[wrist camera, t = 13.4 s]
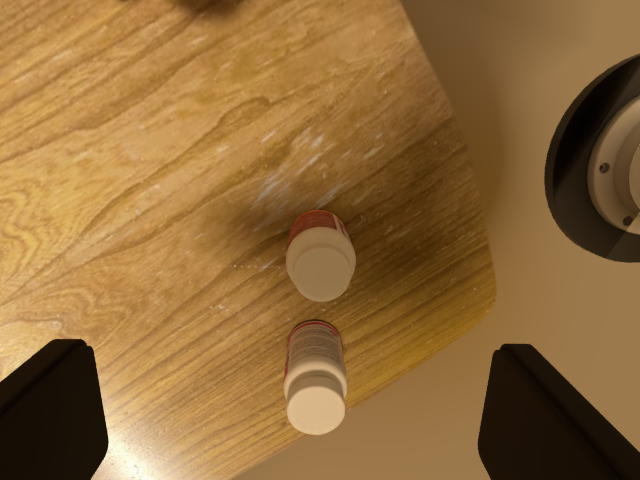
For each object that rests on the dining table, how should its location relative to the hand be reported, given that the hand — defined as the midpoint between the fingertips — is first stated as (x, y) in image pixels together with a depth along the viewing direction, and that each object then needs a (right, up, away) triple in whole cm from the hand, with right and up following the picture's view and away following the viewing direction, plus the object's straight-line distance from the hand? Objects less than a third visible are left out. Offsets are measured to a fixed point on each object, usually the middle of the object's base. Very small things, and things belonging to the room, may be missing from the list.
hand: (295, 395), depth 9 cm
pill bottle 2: (0, -5, +25) cm, 25 cm away
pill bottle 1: (0, +4, +22) cm, 22 cm away
